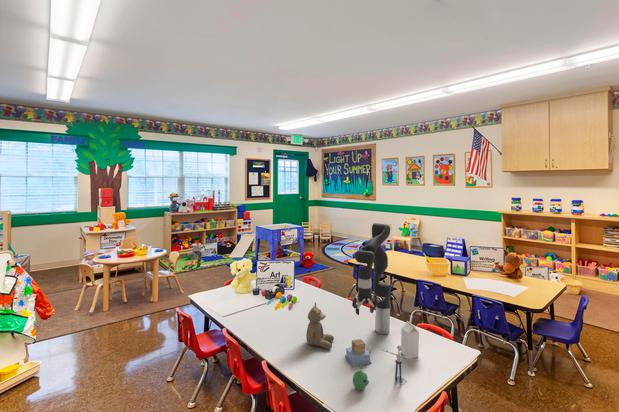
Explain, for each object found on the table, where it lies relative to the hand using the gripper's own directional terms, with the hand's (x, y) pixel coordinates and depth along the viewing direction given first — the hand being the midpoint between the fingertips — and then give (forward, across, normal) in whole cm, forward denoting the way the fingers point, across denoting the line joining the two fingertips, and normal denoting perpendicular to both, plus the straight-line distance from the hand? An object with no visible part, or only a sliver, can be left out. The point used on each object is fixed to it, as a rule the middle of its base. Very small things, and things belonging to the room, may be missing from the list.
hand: (364, 313), depth 179 cm
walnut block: (+21, +4, +1) cm, 21 cm away
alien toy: (+26, +14, +26) cm, 39 cm away
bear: (+26, +20, -21) cm, 39 cm away
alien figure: (+26, -7, +26) cm, 37 cm away
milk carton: (+26, -26, +5) cm, 38 cm away
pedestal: (+26, +5, +1) cm, 26 cm away
